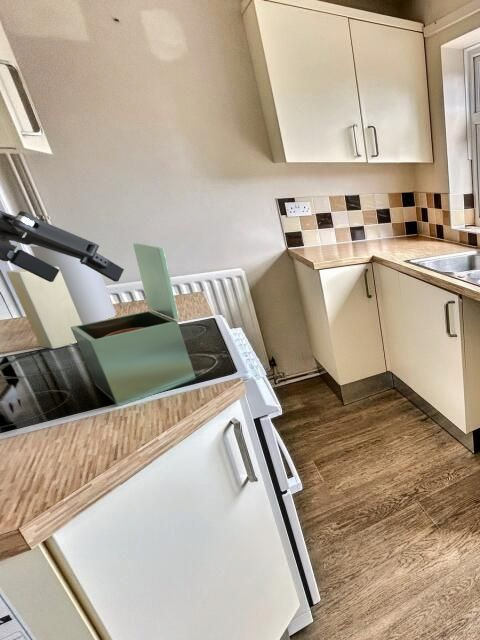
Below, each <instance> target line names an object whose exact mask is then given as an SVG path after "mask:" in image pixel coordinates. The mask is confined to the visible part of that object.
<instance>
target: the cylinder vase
mask: <svg viewBox="0 0 480 640" xmlns="http://www.w3.org/2000/svg"><path fill="white" fill-rule="evenodd" d="M30 248H31V251H32V253H33V256H34V257H36V258H38V259H40V260H42V261H44V262H46V263H48V264H50V265H51V266H54V267H59V269H60V272H61V274H62V276H63V279H64V281H65V284H66V286H67V289H68V291H69V294H70V296H71V299H72V301H73V303H74V306H75V308H76V311H77V313H78V315H79V318H80V320H81V323H82V324H87V323H92V322H97V321H101V320H105V319H108V318H111V317H114V316H115V315H117V316H118V313H117V311H116V309H115V306H114V304H113V301H112V298H111V296H110V293H109V290H108V288H107V285H106V283H105V280H104V276H103V275H102V274H100V273H99V272H97V271H95V270H93V269H91V268H90V267H88V266H86V265H84V264H81V262H80V260H81V259H78V258H75V257H72V256H69V255H65V254H62V253H59V252H56V251H53V250H50V249H47V248H44V247H41V246H37V245H34V244H30Z"/></svg>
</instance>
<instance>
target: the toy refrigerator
mask: <svg viewBox="0 0 480 640" xmlns="http://www.w3.org/2000/svg"><path fill="white" fill-rule="evenodd" d="M53 267H54V266H53ZM55 268H57V269H59V267H55ZM5 273H6V275H7V277H8V279H9V282H10V284H11V286H12V289H13V290H14V292H15V295H16V297H17V299H18V301H19V303H20V305H21V307H22V310H23V311H24V314H25V316H26V319H27V321H28V322H29V323H28V324H29V325H30V327H31V329H32V331H33V334H34V336H35V338H36V340H37V342H38V345H39V346H40V347H41V348H46V349H51V350H56V349H60V348H62V347H63V348H64V347H66V346H70V345H74V344H77V342H76V339H75V337H74V334H73V332H72V330H71V327H73V326H77V325H82V323H81V320H80V318H79V315H78V313H77V311H76V308H75V306H74V303H73V301H72V299H71V296H70V294H69V291H68V289H67V286H66V284H65V281H64V279H63V276H62V274H61V272H60V269H59V272H58V274H57V276H56V278H55V279H54V281H53V282H49V281H47V280H45V279H43V278H41V277H39V276H37V275H35V274H33V273H30V272H28V271H26V270H24V269H22V268H20V269H13V270H6V272H5ZM73 342H75V343H73ZM70 343H71V344H70Z"/></svg>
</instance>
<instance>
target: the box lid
mask: <svg viewBox="0 0 480 640" xmlns="http://www.w3.org/2000/svg"><path fill="white" fill-rule="evenodd" d="M132 245H133V249H134V254H135V258H136V262H137V267H138V270H139V275H140V278H141V283H142V288H143V292H144V295H145V300H146V305H147V308H148V309H149V310H152V311H154V312H157V313H159V314H161V315H164V316H166V317H168V318H171V319H173V320H179V319H180V317H179V312H178V308H177V304H176V299H175V293H174V289H173V285H172V279H171V276H170V270H169V266H168V262H167V257H166V253H165V248H163V247H159V246H153V245H148V244H144V243H143V244H142V243H137V242H136V243H133V244H132Z"/></svg>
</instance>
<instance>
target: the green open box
mask: <svg viewBox="0 0 480 640" xmlns="http://www.w3.org/2000/svg"><path fill="white" fill-rule="evenodd" d="M178 322H179V321H177V320H176V319H172V318H170V317H168V316H165V315H163V314H161V313H158V312H156V311H154V310H151V309H149V310H146V311H141V312H136V313H131V314H126V315H122V316H117V317H116V318H111V319H106V320H102V321H97V322H92V323H87V324H82V325H77V326H73V327H71V330H72V332H73V334H74V337H75V339H76V341H77V343H76V344H77V346H78V348H79V351H80V353H81V355H82V358H83V360H84V362H85V365H86V367H87V369H88V372H89V373H90V377H91V378H92V381H93V383H94V385H95V387H96V388H97V389H98V390H99V391H100V392H101V393H102V394H104V396H105V397H107V398H108V399H109V400H110V401H111V402H112V403H114V404H115V406H117V407H121V406H123V405H127V404H130V403H133V402H136V401H139V400H142V399H145V398H148V397H151V396H153V395H156V394H160V393H162V392H167V391H169V390H172V389H176V388H177V387H180V386H184V385H187V384H189V383H190V384H191V383H193V382H196V381H198V379H197V376H196V374H195V370H194V368H193V364H192V361H191V358H190V355H189V352H188V350H187V347H186V344H185V341H184V337H183V334H182V332H181V328H180V325H179V323H178ZM140 327H145V328H142V329H138V330H133V331H129V332H125V333H120V334H116V335H112V336H107V337H104V336H106V335H108V334H110V333H113V332H116V331H120V330H125V329H131V328H140Z"/></svg>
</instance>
